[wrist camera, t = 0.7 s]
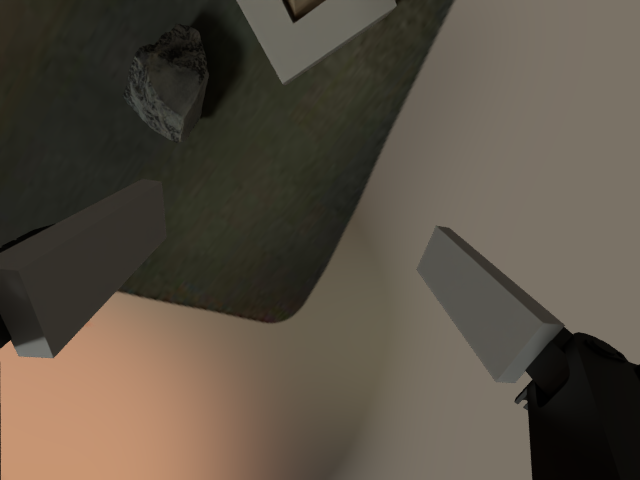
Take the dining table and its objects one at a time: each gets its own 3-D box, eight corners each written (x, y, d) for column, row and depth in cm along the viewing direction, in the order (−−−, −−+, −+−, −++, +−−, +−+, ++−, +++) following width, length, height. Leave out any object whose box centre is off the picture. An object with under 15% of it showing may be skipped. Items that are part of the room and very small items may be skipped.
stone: (91, 23, 21) (168, 143, 26) (200, 7, 26) (249, 110, 30) (93, 69, 28) (153, 156, 33) (178, 49, 33) (220, 128, 38)
